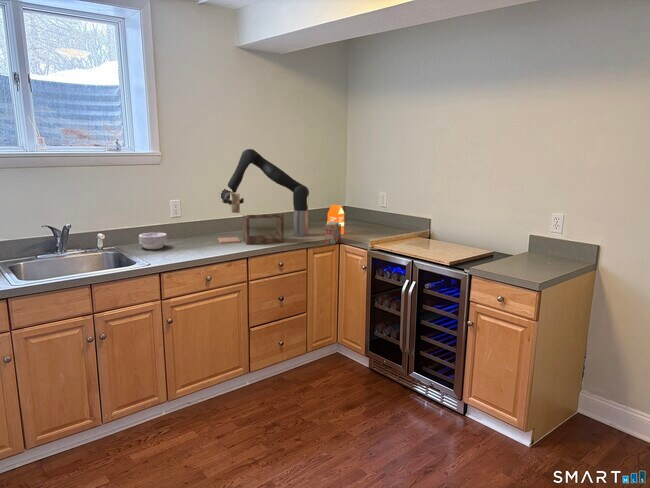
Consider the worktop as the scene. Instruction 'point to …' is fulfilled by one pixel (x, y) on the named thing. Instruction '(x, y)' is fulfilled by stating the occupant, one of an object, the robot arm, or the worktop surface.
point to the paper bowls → (153, 240)
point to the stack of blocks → (332, 232)
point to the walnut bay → (264, 238)
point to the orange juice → (336, 215)
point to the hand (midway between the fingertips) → (235, 202)
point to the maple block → (235, 203)
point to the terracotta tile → (229, 240)
